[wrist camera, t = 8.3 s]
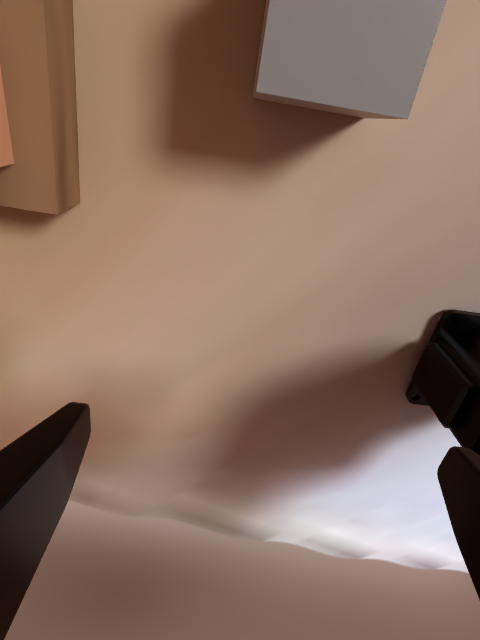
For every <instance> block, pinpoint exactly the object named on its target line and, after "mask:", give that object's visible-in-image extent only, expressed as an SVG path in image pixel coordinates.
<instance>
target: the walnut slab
mask: <svg viewBox="0 0 480 640" xmlns="http://www.w3.org/2000/svg"><path fill="white" fill-rule="evenodd" d="M0 67H1V74H2V81H3V88H4V95H5V102H6V109H7V116H8V123H9V131H10V138H11V145H12V152H13V159H14V164H11V165H7V166H2V167H0V206H5V207H11V208H18V209H24V210H30V211H36V212H42V213H48V214H54V215H58V214H60V213H62V212H64V211H66V210H68V209H70V208H71V207H73V206H75V205H77V204H79V203H80V185H79V159H78V132H77V106H76V79H75V53H74V26H73V0H0Z"/></svg>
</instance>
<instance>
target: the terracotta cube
mask: <svg viewBox="0 0 480 640" xmlns="http://www.w3.org/2000/svg"><path fill="white" fill-rule="evenodd" d="M11 164H14V159H13V152H12V145H11V138H10V131H9V123H8V116H7V109H6V102H5V95H4V88H3V81H2V74H1V67H0V167H2V166H7V165H11Z"/></svg>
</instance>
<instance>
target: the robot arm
mask: <svg viewBox="0 0 480 640" xmlns="http://www.w3.org/2000/svg"><path fill="white" fill-rule="evenodd" d="M452 317H454V319H453V320H452V321H449V320H450V318H452ZM416 394H417V395H416ZM413 395H416V396H413ZM405 396H406V398H407V400H408V401H409V402H410V403H412V404H419V405H427V406H430V407H431V408H432V410H433V412H434V413H435V415H436V416H437V418H438V419H439V421H440V422H441V424H442V425H443V427H445V428H449V429H450V430H451V432H452V433H453V435H454V436H455V438H456V439H457V441H458V442H459V444H460V445H461V447H456V446H454V447H451V448H450V449H449V450H448V452H447V454H446V455H445V457H444V459H443V460H442V462H441V464H440V465H439V467H438V473H437V474H438V480H439V483H440V487H441V490H442V494H443V497H444V501H445V504H446V507H447V511H448V514H449V518H450V521H451V525H452V528H453V531H454V534H455V538H456V540H457V543H458V546H459V549H460V551H461V554H462V556H463V559H464V561H465V564H466V566H467V569H468V571H469V574H470V577H471V579H472V582H473V584H474V587H475V589H476V592H477V594H478V597H479V599H480V313H473V312H466V311H460V310H448V311H446V312H445V313H443V315H442V316H441V318H440V320H439V323H438V325H437V327H436V329H435V331H434V333H433V335H432V338H431V340H430V342H429V344H428V345H427V346H426V348H425V350H424V352H423V354H422V357H421V359H420V361H419V363H418V365H417V367H416V369H415V372H414V374H413V376H412V380H411V382H410V384H409V387H408V389H407V391H406V394H405ZM412 396H413V397H412ZM90 432H91V423H90V408H89V405H88V404H86V403H78V402H71V403H68V404H67V405H65V406H64V407H62V408H61V409H60V410H58V411H57V412H55V413H54V414H52V415H51V416H49V417H48V418H47V419H45V420H44V421H42V422H41V423H39V424H38V425H36V426H35V427H34V428H32V429H31V430H29V431H28V432H26V433H25V434H23V435H22V436H21V437H19V438H18V439H16V440H15V441H13V442H12V443H11V444H9V445H8V446H6V447H5V448H3V449H2V450H0V640H4V639H5V636H6V634H7V632H8V630H9V627H10V626H11V623H12V621H13V619H14V617H15V615H16V613H17V610H18V608H19V606H20V604H21V602H22V600H23V598H24V595H25V593H26V590H27V589H28V587H29V585H30V582H31V580H32V578H33V576H34V574H35V572H36V570H37V567H38V565H39V563H40V561H41V558H42V557H43V555H44V552H45V550H46V548H47V546H48V544H49V542H50V539H51V537H52V535H53V533H54V531H55V528H56V526H57V524H58V522H59V520H60V518H61V516H62V513H63V511H64V509H65V507H66V504H67V502H68V500H69V497H70V494H71V491H72V488H73V485H74V482H75V479H76V476H77V473H78V471H79V468H80V465H81V462H82V459H83V456H84V453H85V450H86V447H87V444H88V441H89V437H90Z"/></svg>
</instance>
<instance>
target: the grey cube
mask: <svg viewBox="0 0 480 640" xmlns="http://www.w3.org/2000/svg"><path fill="white" fill-rule="evenodd" d="M445 3H446V0H266V5H265V12H264V19H263V26H262V33H261V39H260V46H259V53H258V60H257V67H256V74H255V81H254V87H253V94H252V98H254V99H260V100H266V101H271V102H277V103H282V104H288V105H293V106H299V107H305V108H310V109H316V110H321V111H327V112H332V113H338V114H344V115H349V116H355V117H360V118H380V119H408V117H409V114H410V111H411V108H412V104H413V101H414V98H415V95H416V92H417V89H418V86H419V83H420V80H421V77H422V74H423V71H424V68H425V64H426V61H427V58H428V55H429V52H430V49H431V46H432V43H433V40H434V37H435V34H436V31H437V28H438V25H439V21H440V18H441V15H442V12H443V9H444V6H445Z"/></svg>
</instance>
